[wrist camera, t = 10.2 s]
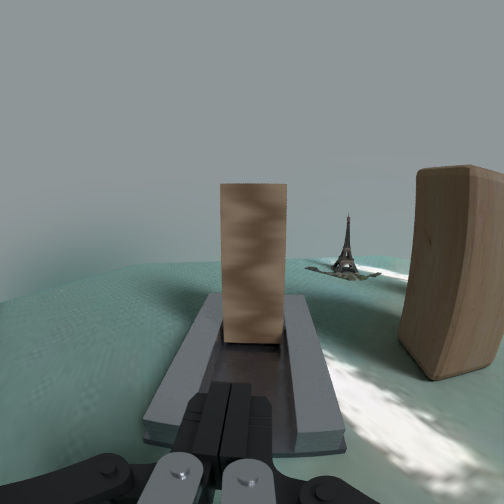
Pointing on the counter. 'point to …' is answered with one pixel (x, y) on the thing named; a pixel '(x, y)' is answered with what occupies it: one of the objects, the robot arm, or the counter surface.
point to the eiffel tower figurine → (345, 262)
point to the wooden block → (455, 271)
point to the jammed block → (253, 261)
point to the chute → (255, 381)
